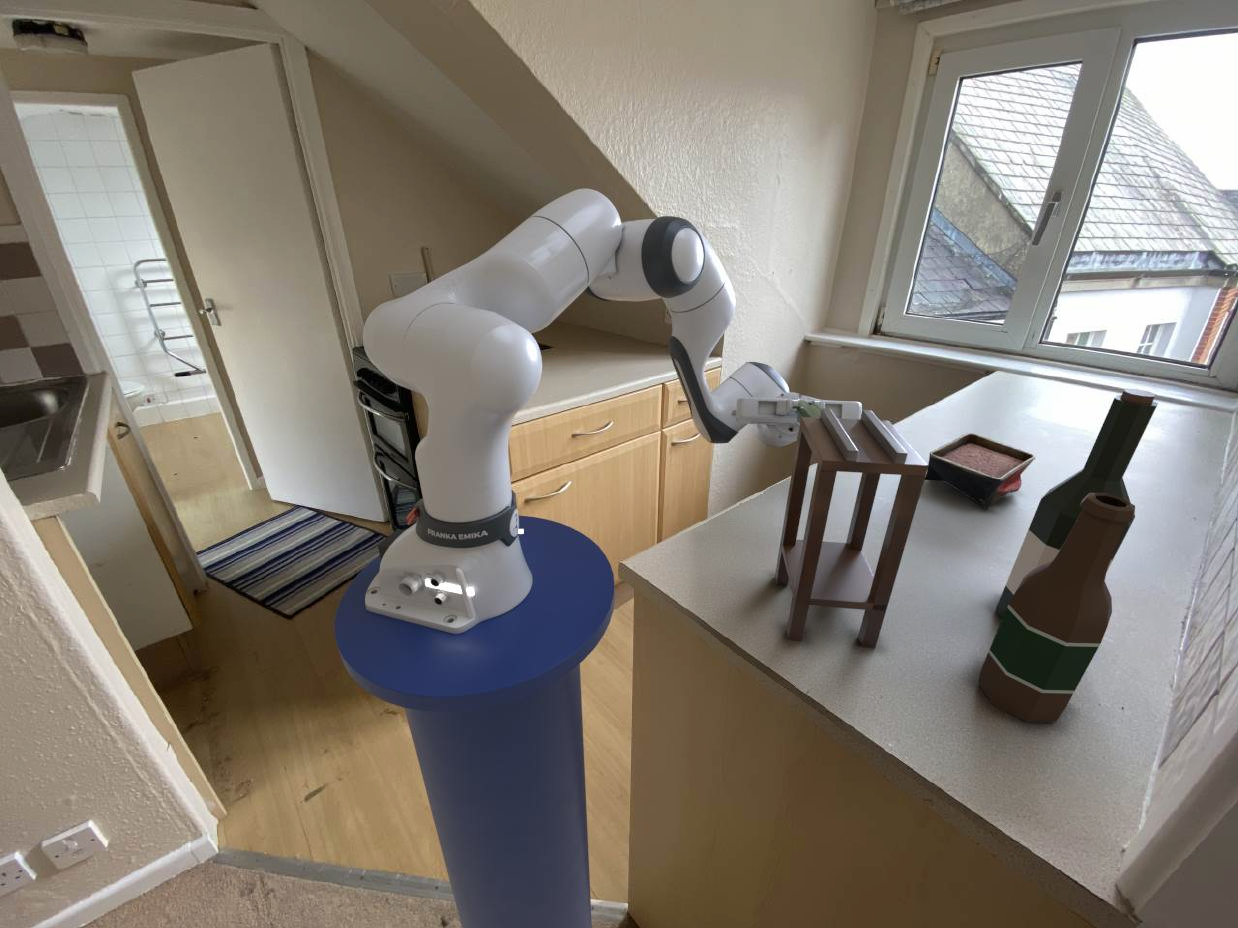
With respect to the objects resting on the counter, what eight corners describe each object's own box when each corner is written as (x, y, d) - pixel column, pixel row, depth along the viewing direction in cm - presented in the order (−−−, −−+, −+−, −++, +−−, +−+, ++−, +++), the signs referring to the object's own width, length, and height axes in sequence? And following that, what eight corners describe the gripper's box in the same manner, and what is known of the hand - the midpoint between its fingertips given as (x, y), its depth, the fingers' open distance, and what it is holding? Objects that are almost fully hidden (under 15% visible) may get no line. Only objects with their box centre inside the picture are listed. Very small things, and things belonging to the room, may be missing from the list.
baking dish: (1031, 503, 96) (1050, 450, 93) (985, 517, 86) (1004, 459, 83) (949, 477, 107) (964, 429, 104) (900, 487, 98) (915, 435, 95)
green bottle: (841, 456, 69) (851, 424, 68) (807, 450, 70) (816, 418, 68) (810, 422, 87) (817, 396, 85) (783, 418, 87) (790, 391, 85)
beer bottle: (1052, 679, 58) (1150, 488, 47) (1073, 738, 52) (1192, 533, 41) (970, 657, 61) (1045, 472, 50) (980, 710, 54) (1069, 511, 44)
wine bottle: (1068, 611, 68) (1179, 387, 54) (1083, 656, 61) (1214, 412, 48) (991, 591, 71) (1078, 376, 58) (998, 632, 64) (1097, 398, 51)
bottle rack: (788, 639, 63) (824, 449, 52) (774, 576, 74) (802, 407, 63) (875, 647, 62) (932, 454, 51) (848, 582, 73) (890, 410, 62)
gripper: (730, 398, 97) (739, 382, 83) (846, 403, 95) (874, 387, 81) (729, 432, 97) (737, 421, 83) (844, 437, 95) (873, 427, 81)
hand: (806, 404), depth 82 cm, fingers closed on green bottle, 2 cm apart
